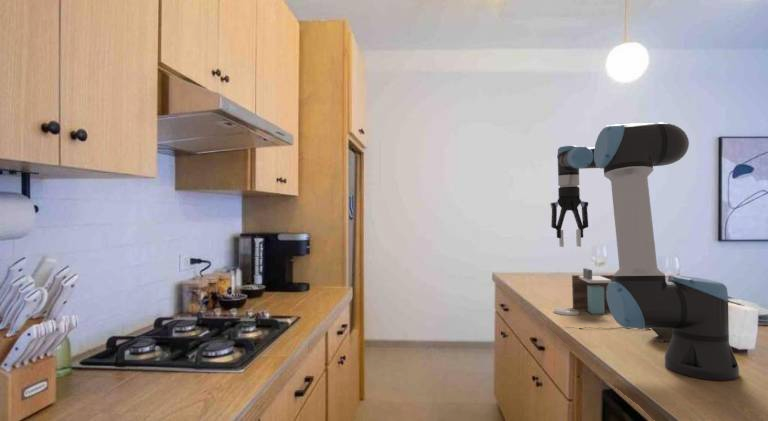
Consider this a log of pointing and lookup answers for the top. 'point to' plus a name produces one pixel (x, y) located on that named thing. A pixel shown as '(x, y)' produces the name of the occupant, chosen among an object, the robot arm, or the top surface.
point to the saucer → (566, 311)
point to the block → (595, 299)
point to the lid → (593, 277)
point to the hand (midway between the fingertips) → (570, 246)
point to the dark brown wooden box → (581, 292)
